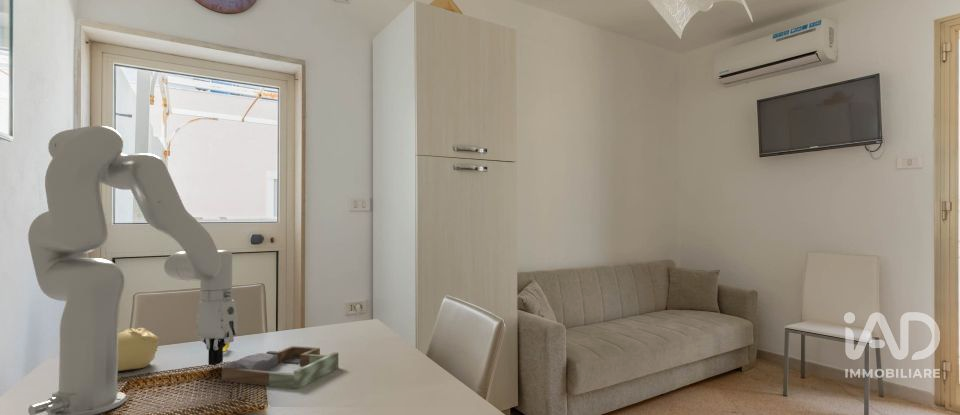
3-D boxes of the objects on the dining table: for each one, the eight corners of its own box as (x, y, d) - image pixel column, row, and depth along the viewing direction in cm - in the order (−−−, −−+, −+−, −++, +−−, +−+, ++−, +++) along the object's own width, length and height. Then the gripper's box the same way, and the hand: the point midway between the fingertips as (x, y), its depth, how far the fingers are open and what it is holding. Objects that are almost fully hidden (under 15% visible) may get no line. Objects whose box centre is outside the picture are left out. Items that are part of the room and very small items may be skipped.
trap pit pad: (302, 364, 126) (302, 363, 126) (282, 362, 127) (282, 361, 127) (312, 359, 130) (312, 358, 130) (293, 357, 132) (293, 356, 132)
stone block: (218, 385, 115) (252, 379, 114) (215, 366, 116) (250, 359, 114) (250, 372, 127) (282, 366, 125) (247, 354, 128) (279, 348, 126)
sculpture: (165, 366, 126) (165, 326, 126) (111, 378, 116) (112, 335, 116) (147, 359, 132) (148, 322, 133) (95, 370, 122) (96, 330, 123)
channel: (298, 388, 107) (298, 371, 107) (221, 380, 113) (222, 364, 113) (350, 361, 128) (350, 346, 128) (284, 355, 134) (284, 342, 134)
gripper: (249, 294, 126) (248, 361, 125) (206, 292, 130) (205, 357, 129) (227, 298, 119) (227, 370, 118) (182, 296, 123) (181, 365, 122)
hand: (215, 363), depth 124 cm, fingers closed
